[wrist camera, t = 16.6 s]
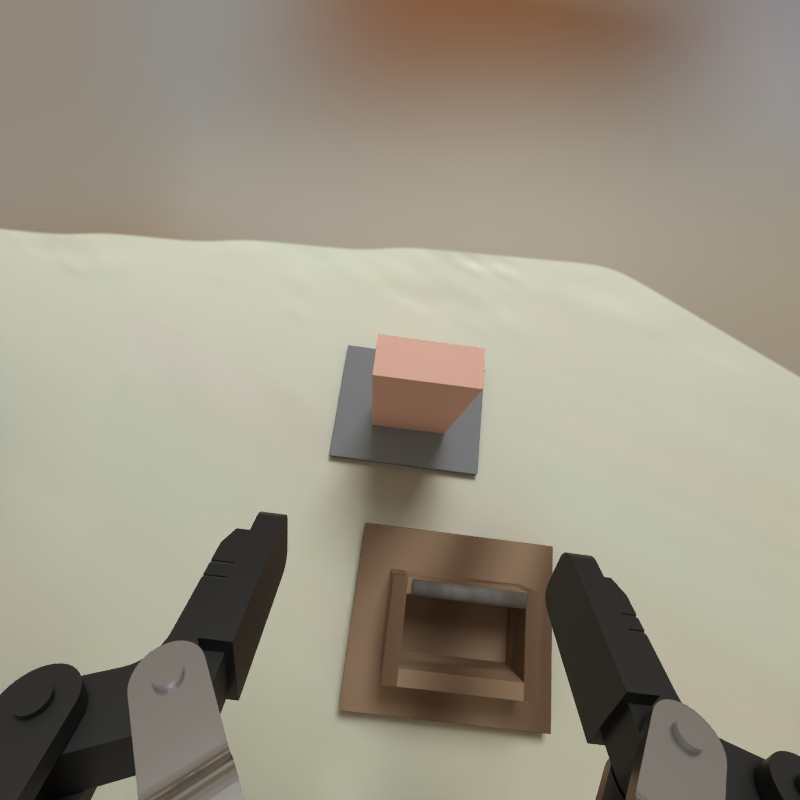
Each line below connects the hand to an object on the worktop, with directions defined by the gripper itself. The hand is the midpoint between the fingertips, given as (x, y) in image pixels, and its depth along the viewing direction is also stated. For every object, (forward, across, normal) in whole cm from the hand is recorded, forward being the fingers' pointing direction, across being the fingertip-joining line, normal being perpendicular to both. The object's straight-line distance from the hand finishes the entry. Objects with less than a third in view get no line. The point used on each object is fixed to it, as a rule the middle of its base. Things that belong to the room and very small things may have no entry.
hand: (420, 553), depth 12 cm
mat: (+17, 0, +5) cm, 17 cm away
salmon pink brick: (+16, 0, +5) cm, 16 cm away
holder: (+7, -4, +14) cm, 16 cm away
